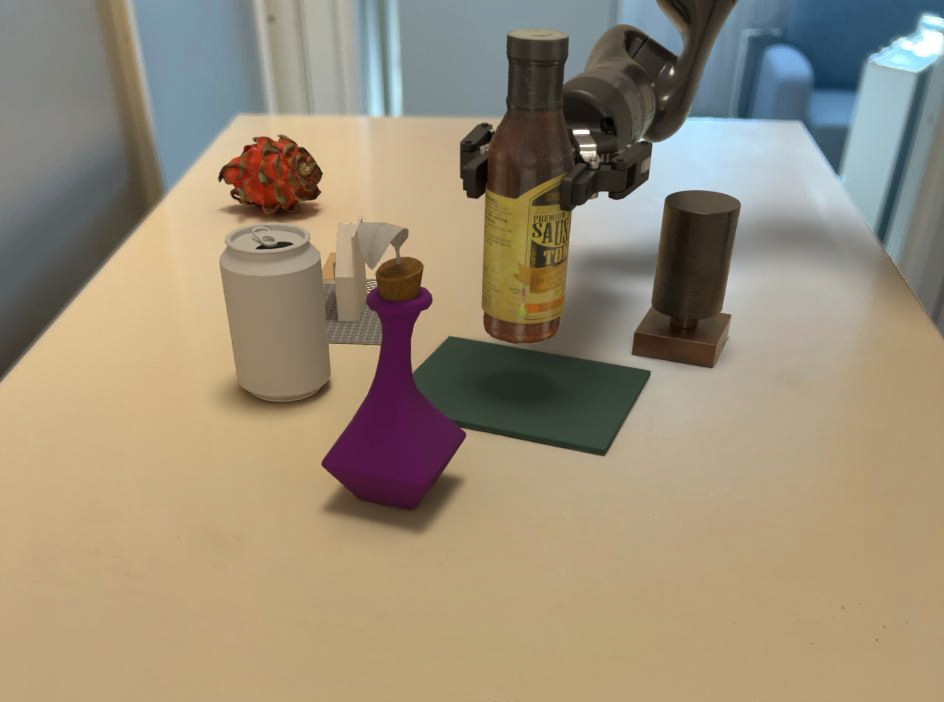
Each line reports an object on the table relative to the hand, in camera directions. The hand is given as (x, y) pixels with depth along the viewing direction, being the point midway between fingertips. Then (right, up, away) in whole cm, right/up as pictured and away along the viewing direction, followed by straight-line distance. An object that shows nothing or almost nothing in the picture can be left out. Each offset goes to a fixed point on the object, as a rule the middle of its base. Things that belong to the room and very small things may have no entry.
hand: (518, 189), depth 67 cm
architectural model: (-14, 0, +25) cm, 28 cm away
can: (-18, -10, +13) cm, 24 cm away
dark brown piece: (+15, -5, +19) cm, 25 cm away
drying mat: (+1, -11, +12) cm, 16 cm away
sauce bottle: (+1, -7, +9) cm, 11 cm away
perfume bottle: (-8, -21, +1) cm, 22 cm away
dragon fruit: (-25, +18, +46) cm, 56 cm away
